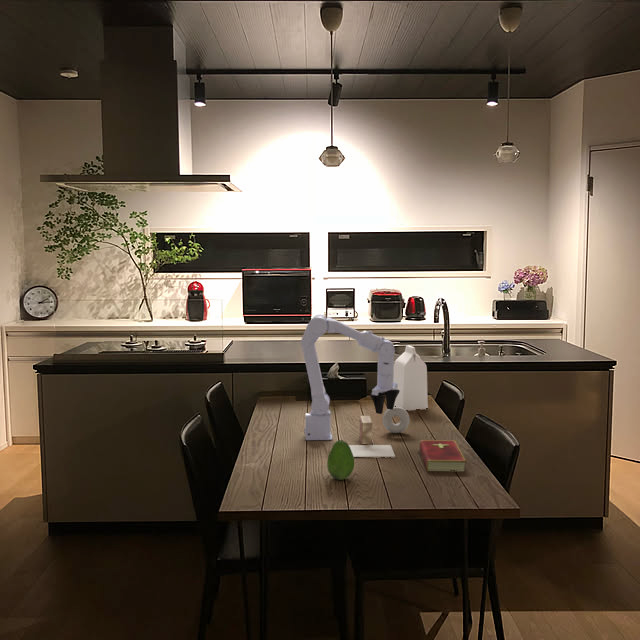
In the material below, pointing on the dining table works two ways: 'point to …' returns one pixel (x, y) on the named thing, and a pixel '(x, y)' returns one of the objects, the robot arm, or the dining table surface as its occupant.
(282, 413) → the dining table surface
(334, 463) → the fruit
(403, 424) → the donut
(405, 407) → the milk
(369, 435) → the tan wooden block
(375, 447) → the mat
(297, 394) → the dining table surface
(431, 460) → the hardcover book
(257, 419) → the dining table surface
